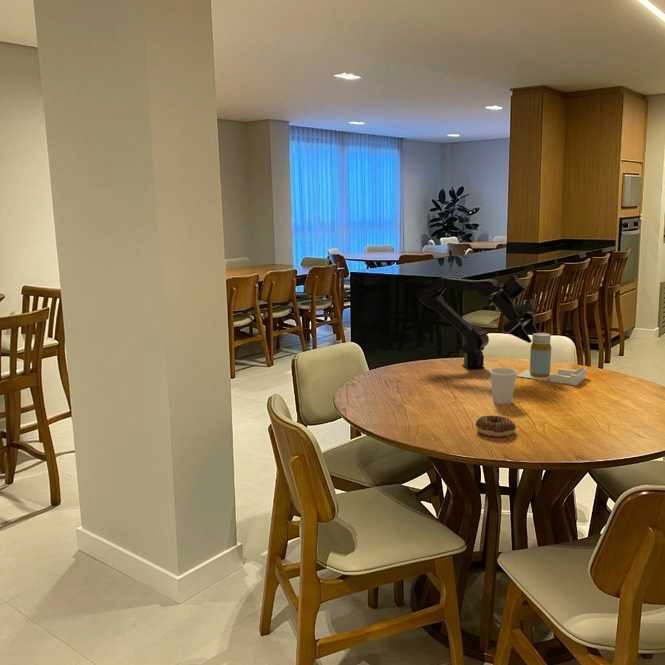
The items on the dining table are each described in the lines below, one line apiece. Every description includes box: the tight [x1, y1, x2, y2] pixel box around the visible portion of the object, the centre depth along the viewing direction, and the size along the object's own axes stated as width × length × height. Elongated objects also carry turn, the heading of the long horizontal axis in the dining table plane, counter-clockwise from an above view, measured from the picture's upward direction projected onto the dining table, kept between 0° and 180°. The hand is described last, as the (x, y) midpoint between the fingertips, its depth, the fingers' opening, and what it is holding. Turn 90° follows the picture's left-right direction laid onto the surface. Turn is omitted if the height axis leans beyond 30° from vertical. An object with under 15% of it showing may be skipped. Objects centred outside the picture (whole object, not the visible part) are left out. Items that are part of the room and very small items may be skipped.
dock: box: [549, 367, 587, 386], centre depth 232 cm, size 9×12×4 cm
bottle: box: [529, 332, 552, 377], centre depth 236 cm, size 7×7×15 cm
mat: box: [516, 369, 557, 382], centre depth 238 cm, size 11×11×1 cm
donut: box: [475, 414, 517, 438], centre depth 179 cm, size 11×11×4 cm
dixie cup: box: [489, 367, 518, 405], centre depth 206 cm, size 8×8×10 cm
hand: (535, 339), depth 237 cm, fingers open, 9 cm apart
